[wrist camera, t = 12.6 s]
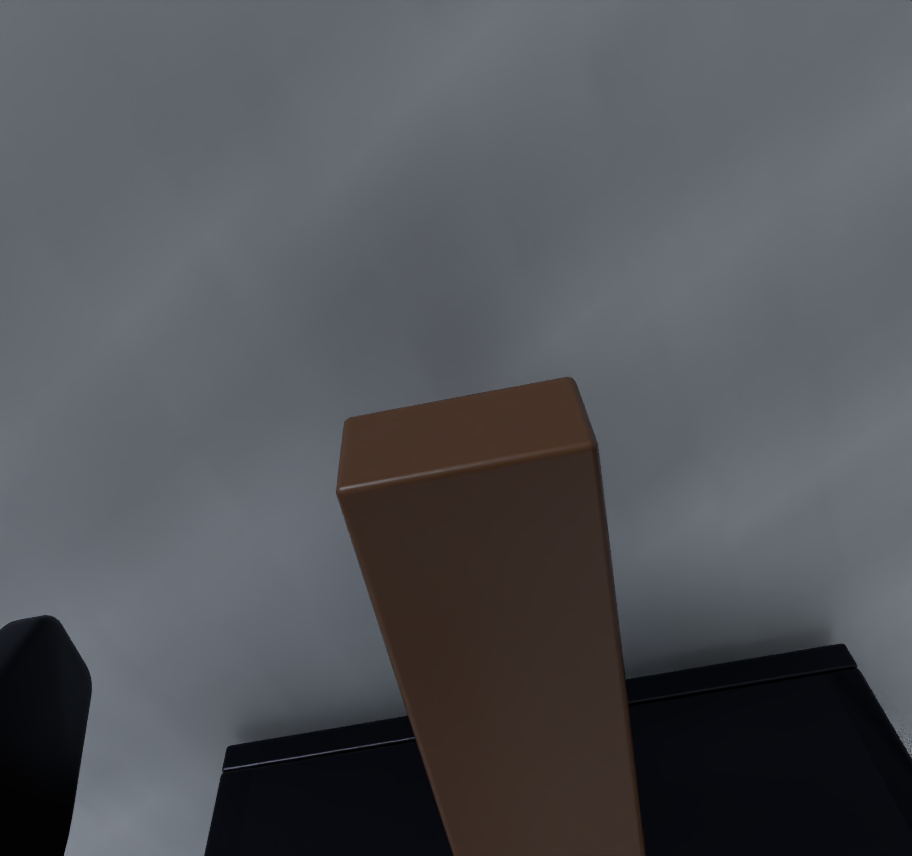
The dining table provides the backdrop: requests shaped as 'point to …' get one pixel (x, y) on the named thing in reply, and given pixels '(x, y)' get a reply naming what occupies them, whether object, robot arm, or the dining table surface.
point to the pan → (549, 681)
